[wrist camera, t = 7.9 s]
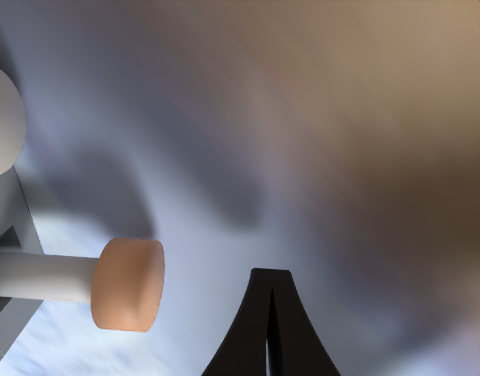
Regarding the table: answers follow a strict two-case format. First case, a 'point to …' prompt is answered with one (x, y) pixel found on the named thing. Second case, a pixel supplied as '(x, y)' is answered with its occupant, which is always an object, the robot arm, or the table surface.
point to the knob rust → (94, 281)
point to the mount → (15, 240)
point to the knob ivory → (10, 123)
